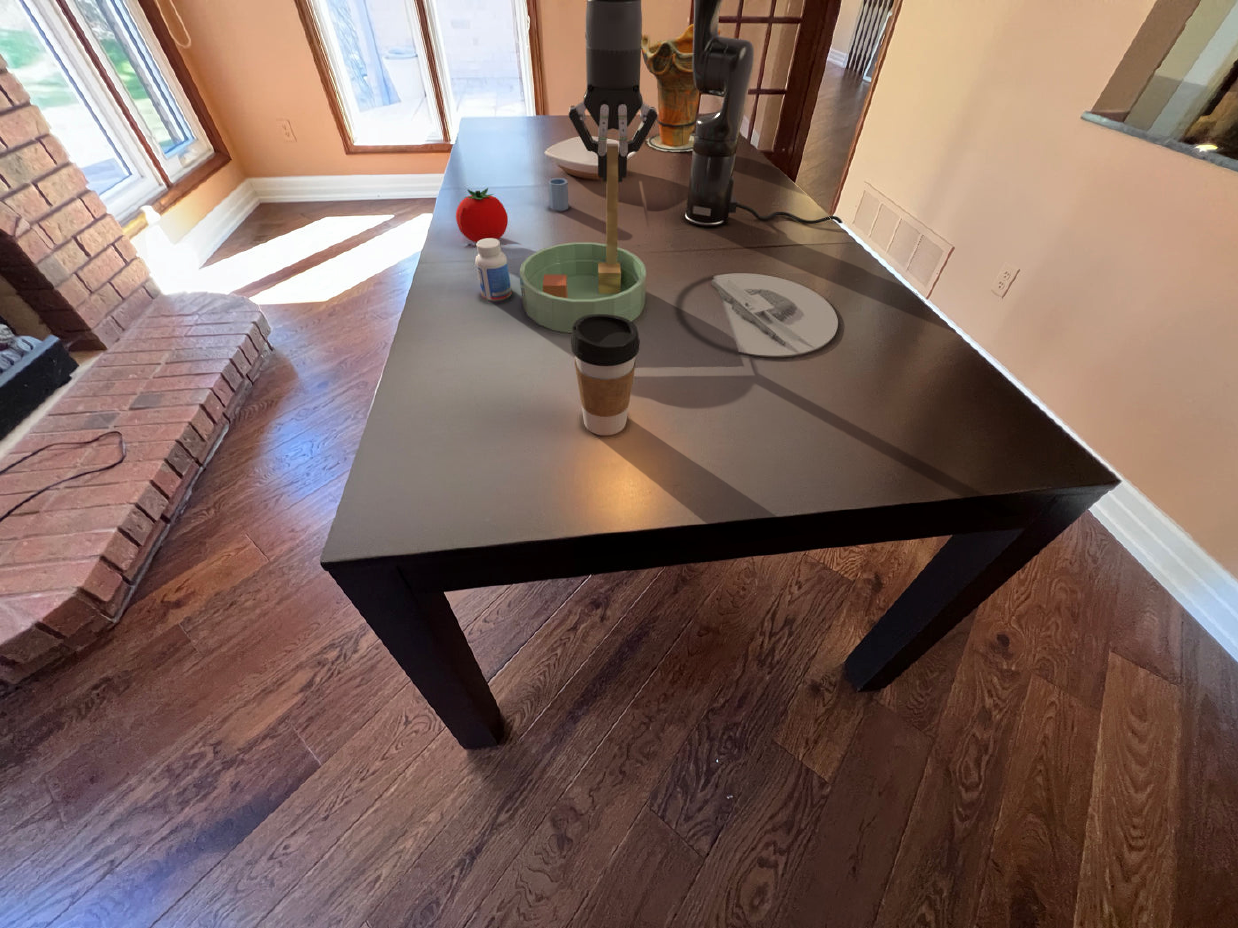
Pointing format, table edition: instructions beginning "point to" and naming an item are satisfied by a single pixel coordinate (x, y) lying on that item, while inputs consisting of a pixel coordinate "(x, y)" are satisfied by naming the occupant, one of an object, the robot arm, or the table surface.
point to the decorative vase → (673, 90)
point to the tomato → (481, 216)
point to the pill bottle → (492, 270)
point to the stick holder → (558, 194)
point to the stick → (612, 203)
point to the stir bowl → (580, 285)
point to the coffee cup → (604, 369)
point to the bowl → (577, 157)
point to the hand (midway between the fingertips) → (612, 180)
